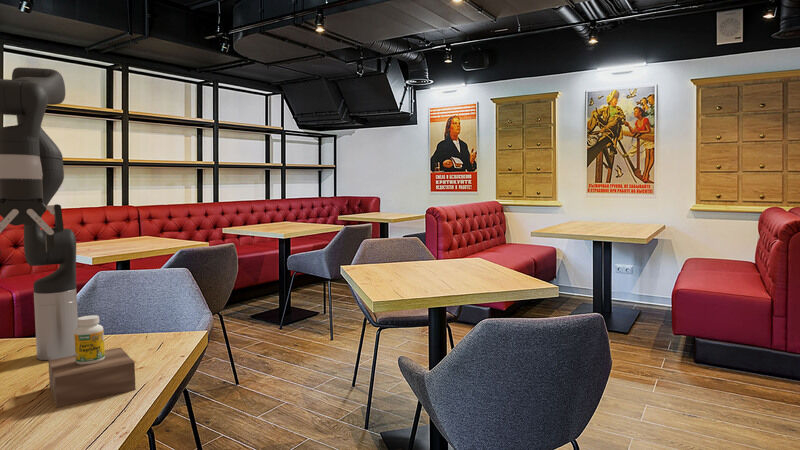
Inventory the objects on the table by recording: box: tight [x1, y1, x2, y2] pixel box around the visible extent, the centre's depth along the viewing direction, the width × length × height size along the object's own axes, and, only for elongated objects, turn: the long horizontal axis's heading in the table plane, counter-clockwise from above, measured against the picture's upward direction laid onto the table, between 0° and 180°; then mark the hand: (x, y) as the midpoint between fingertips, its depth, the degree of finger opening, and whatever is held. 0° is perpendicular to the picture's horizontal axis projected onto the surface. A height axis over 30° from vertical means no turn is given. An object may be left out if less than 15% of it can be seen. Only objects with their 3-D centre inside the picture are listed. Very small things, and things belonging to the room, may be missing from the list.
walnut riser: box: [47, 347, 137, 408], centre depth 108 cm, size 14×14×6 cm
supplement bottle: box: [74, 314, 106, 365], centre depth 108 cm, size 5×5×10 cm
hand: (23, 253), depth 107 cm, fingers open, 8 cm apart
